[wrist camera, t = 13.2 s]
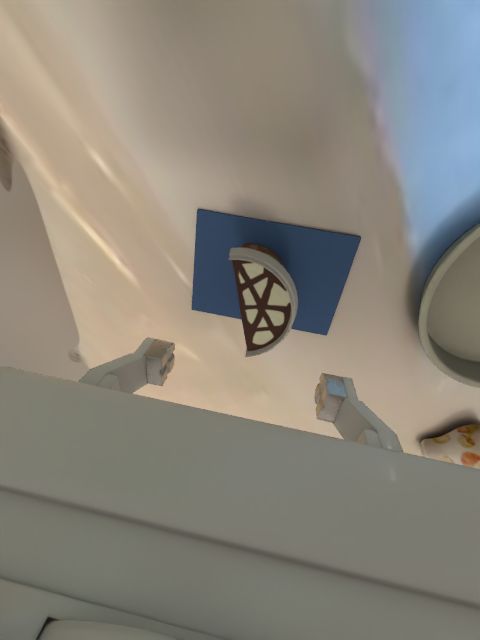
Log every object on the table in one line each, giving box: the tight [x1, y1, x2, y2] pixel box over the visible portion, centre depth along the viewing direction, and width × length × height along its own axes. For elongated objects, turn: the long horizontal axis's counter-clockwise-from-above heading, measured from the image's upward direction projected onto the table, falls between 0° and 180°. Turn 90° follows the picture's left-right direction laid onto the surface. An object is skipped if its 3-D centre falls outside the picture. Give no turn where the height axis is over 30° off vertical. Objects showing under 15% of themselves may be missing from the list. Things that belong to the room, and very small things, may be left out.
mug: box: [420, 425, 480, 469], centre depth 43 cm, size 8×10×10 cm
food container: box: [229, 244, 298, 357], centre depth 32 cm, size 12×6×10 cm, turn 9°
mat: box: [192, 209, 361, 335], centre depth 37 cm, size 20×14×1 cm
